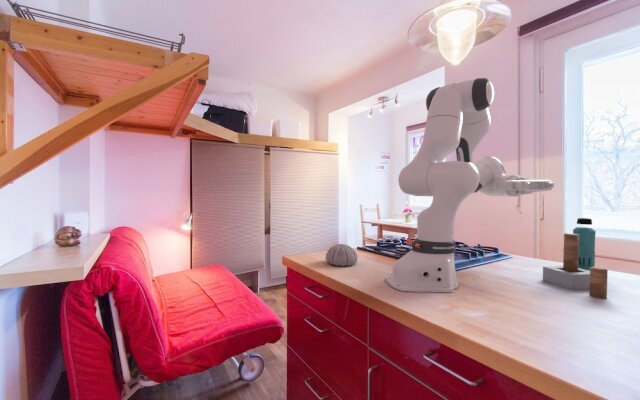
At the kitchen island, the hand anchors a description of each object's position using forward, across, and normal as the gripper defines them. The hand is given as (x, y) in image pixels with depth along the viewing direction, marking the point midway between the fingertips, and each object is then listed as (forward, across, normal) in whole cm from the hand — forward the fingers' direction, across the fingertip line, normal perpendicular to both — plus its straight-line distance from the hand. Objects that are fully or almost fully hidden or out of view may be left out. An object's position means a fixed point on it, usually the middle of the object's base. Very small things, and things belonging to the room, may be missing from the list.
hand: (540, 185), depth 106 cm
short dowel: (+23, -3, +32) cm, 40 cm away
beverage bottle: (+1, +17, +32) cm, 36 cm away
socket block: (+12, 0, +32) cm, 34 cm away
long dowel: (+12, 0, +32) cm, 34 cm away
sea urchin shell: (-23, -68, +32) cm, 79 cm away
